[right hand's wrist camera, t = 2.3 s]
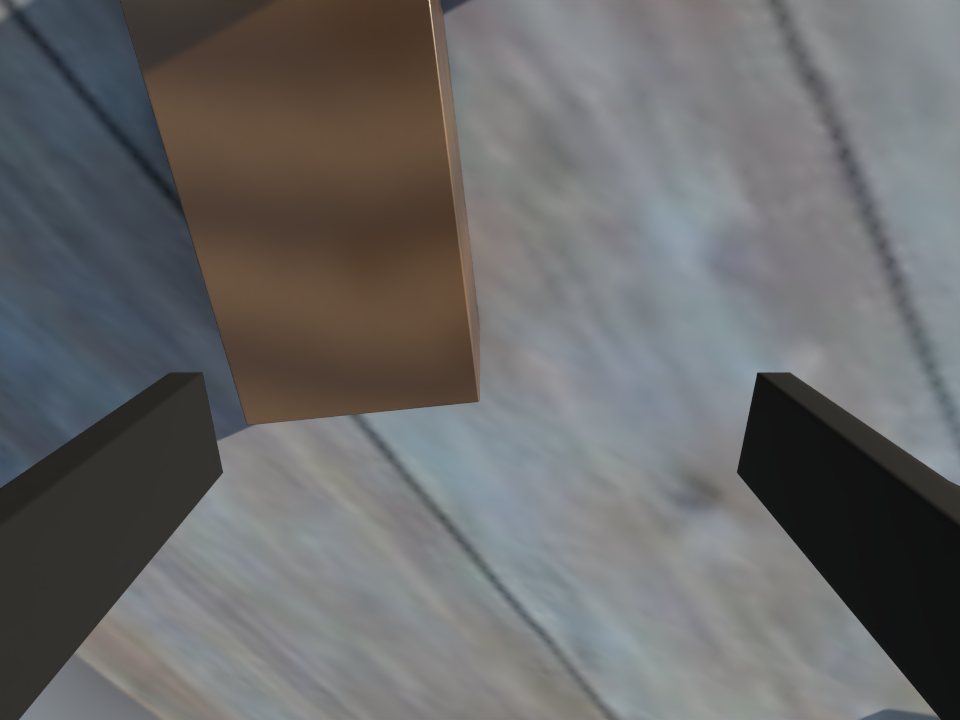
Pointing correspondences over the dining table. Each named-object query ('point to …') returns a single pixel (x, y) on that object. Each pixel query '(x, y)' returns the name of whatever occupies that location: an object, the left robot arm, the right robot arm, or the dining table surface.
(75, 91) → the dining table surface
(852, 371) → the dining table surface
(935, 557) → the right robot arm
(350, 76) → the cabinet
